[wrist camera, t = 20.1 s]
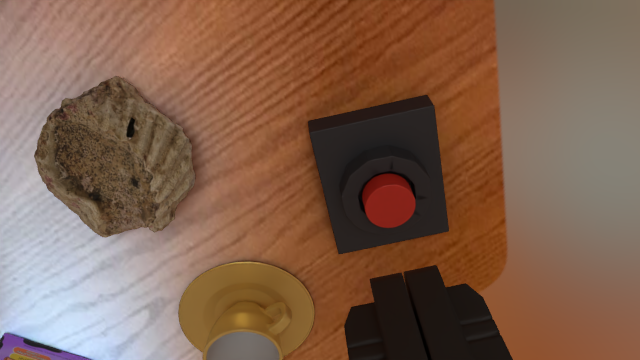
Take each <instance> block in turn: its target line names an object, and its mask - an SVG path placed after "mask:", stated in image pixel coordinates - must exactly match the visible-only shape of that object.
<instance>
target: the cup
mask: <svg viewBox="0 0 640 360" xmlns="http://www.w3.org/2000/svg"><path fill="white" fill-rule="evenodd" d="M178 314H179V322H180V325H181V328H182V330H183V332H184V334H185V336H186V337H187V339H188V340H189V341H190V342H191V343H192V344H193V345H194V346H195V347H196V348H197V349H199V350H200V351H201V352H203V360H283V357H284V356H286V355H287V354H289V353H291V352H292V351H294V350H295V349H296V348H297V347H299V346H300V345H301V344H302V343H303V342H304V340H305V339H306V338H307V336H308V335H309V333H310V331H311V329H312V326H313V322H314V315H315V312H314V305H313V301H312V298H311V296H310V294H309V292H308V291H307V289H306V288H305V287H304V285H303V284H302V283H301V282H300V281H299V280H298V279H296V278H295V277H294V276H292V275H291V274H289V273H288V272H286V271H284V270H282V269H280V268H277V267H274V266H271V265H268V264H263V263H257V262H235V263H229V264H225V265H221V266H218V267H215V268H213V269H210V270H208V271H207V272H205V273H203V274H202V275H200V276H199V277H197V278H196V279H195V280H194V281H193V282H192V283H191V284H190V285H189V286H188V287H187V289H186V290H185V292H184V294H183V296H182V298H181V301H180V304H179V312H178Z"/></svg>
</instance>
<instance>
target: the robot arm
mask: <svg viewBox="0 0 640 360" xmlns="http://www.w3.org/2000/svg"><path fill="white" fill-rule="evenodd" d="M404 279H405V282H404ZM404 279H403V276H402V273H396V274H391V275H387V276H382V277H377V278H372V279H370V283H371V288H372V293H373V297H374V303H369V304H364V305H359V306H354V307H351V309H350V312H349V314H348V317H347V320H346V323H345V325H344V328H345V335H346V342H347V348H348V356H349V360H513V359H512V357H511V355H510V353H509V351H508V349H507V347H506V345H505V342H504V341H503V338H502V336H501V335H500V333H499V330H498V328H497V326H496V324H495V322H494V320H493V319H492V316H491V314H490V311H489V309H488V307H487V305H486V303H485V301H484V299H483V297H482V296H481V295H479V294H478V293H477V292H476V291H474V290H473V289H472V288H471V287H470V286H468V285H467V284H466V283H465V284H460V285H455V286H451V287H445V285H444V282H443V280H442V277H441V275H440V272H439V270H438V268H437V266H436V265H434V266H429V267H424V268H420V269H415V270H410V271H405V272H404Z"/></svg>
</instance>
